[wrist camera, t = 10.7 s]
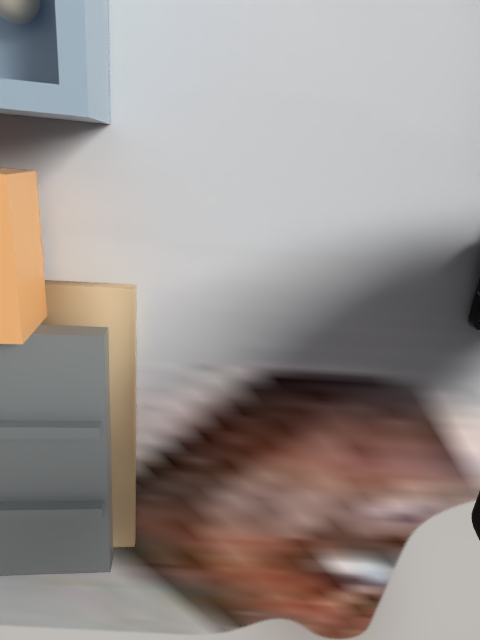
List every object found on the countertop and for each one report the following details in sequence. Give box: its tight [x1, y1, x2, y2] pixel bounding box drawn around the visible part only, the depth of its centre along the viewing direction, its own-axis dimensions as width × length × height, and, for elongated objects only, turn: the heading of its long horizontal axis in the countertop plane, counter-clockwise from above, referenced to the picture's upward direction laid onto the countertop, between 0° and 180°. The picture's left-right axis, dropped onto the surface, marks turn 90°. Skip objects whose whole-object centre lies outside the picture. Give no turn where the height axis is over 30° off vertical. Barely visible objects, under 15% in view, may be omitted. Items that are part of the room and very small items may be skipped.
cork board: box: [41, 280, 136, 547], centre depth 21 cm, size 11×15×1 cm
